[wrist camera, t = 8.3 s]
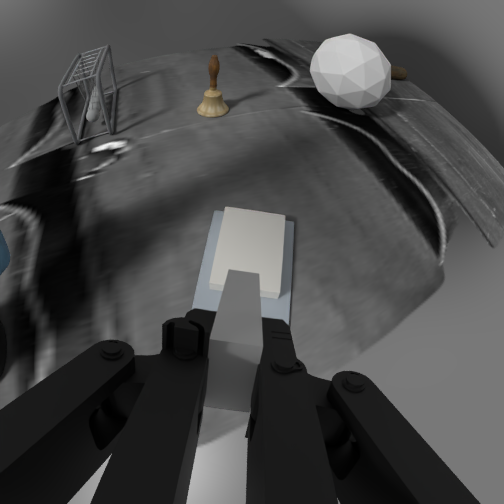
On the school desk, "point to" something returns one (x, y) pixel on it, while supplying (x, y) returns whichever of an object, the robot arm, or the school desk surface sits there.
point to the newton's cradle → (96, 96)
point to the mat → (269, 306)
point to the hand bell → (213, 94)
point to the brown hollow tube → (398, 72)
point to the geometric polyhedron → (351, 72)
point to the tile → (250, 248)
